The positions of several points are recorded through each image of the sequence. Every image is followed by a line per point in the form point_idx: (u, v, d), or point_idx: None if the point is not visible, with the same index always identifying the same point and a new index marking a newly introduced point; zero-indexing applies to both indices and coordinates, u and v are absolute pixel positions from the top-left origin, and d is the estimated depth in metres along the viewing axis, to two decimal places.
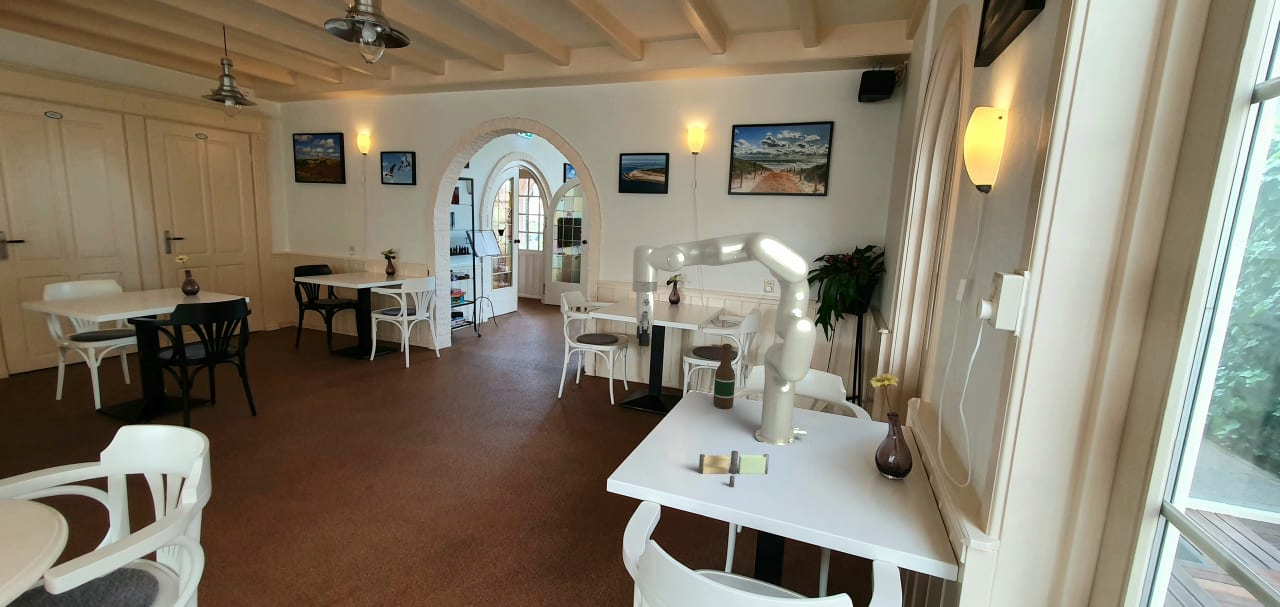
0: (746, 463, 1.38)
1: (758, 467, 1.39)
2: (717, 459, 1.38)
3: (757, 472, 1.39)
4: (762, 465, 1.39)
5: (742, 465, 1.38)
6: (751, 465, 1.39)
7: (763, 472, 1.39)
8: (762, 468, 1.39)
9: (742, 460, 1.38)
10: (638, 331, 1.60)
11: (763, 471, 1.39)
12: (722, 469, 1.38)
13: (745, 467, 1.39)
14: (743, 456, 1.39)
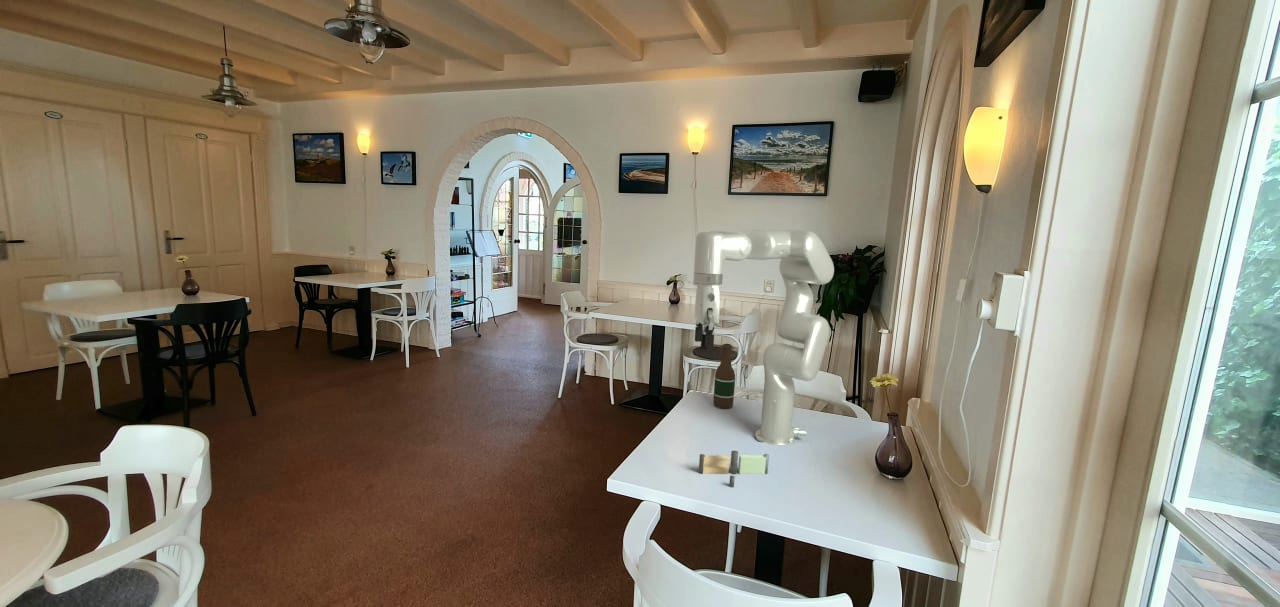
0: (746, 463, 1.38)
1: (758, 467, 1.39)
2: (717, 459, 1.38)
3: (757, 472, 1.39)
4: (762, 465, 1.39)
5: (742, 465, 1.38)
6: (751, 465, 1.39)
7: (763, 472, 1.39)
8: (762, 468, 1.39)
9: (742, 460, 1.38)
10: (697, 333, 1.39)
11: (763, 471, 1.39)
12: (722, 469, 1.38)
13: (745, 467, 1.39)
14: (743, 456, 1.39)
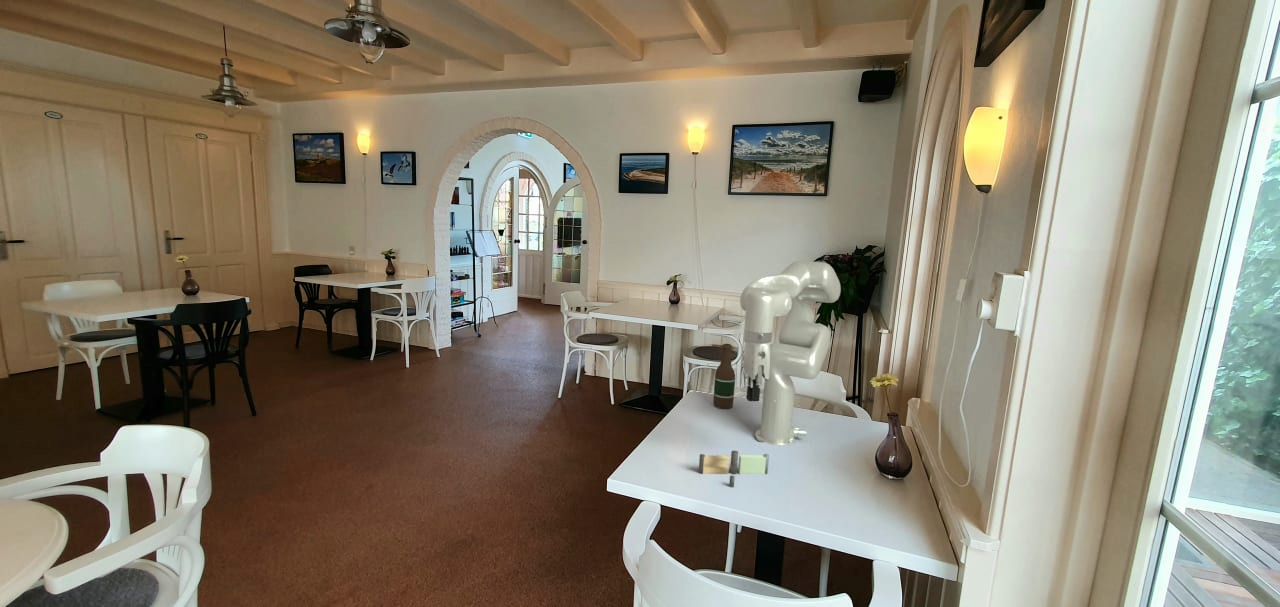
0: (746, 463, 1.38)
1: (758, 467, 1.39)
2: (717, 459, 1.38)
3: (757, 472, 1.39)
4: (762, 465, 1.39)
5: (742, 465, 1.38)
6: (751, 465, 1.39)
7: (763, 472, 1.39)
8: (762, 468, 1.39)
9: (742, 460, 1.38)
10: None
11: (763, 471, 1.39)
12: (722, 469, 1.38)
13: (745, 467, 1.39)
14: (743, 456, 1.39)
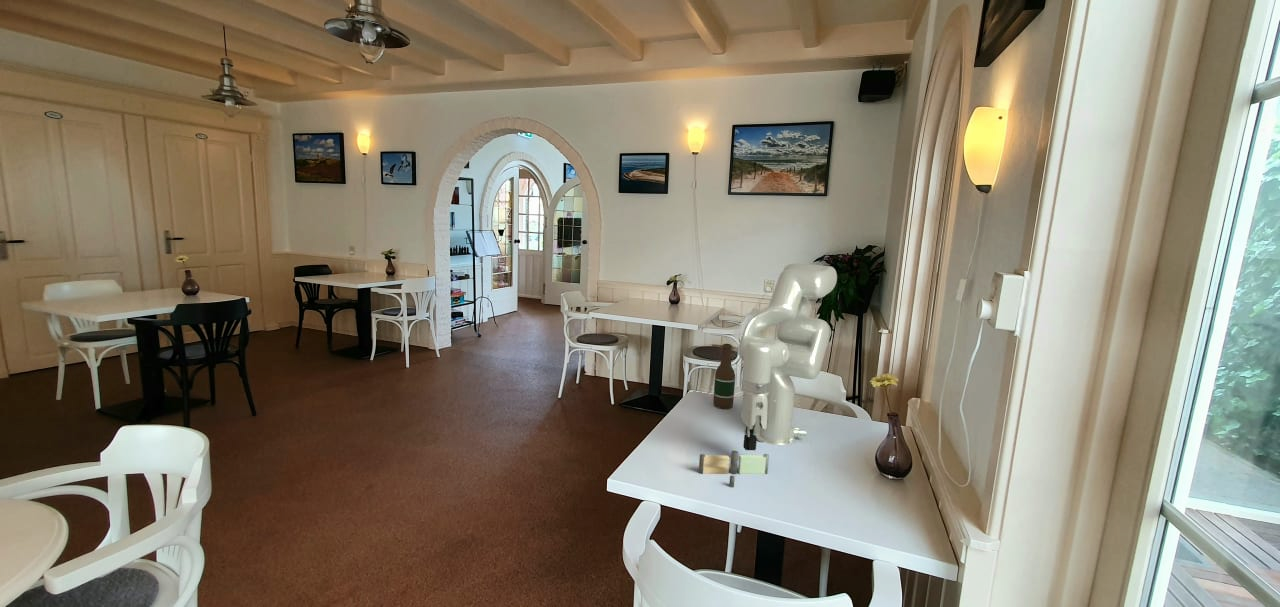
0: (746, 463, 1.38)
1: (758, 467, 1.39)
2: (717, 459, 1.38)
3: (757, 472, 1.39)
4: (762, 465, 1.39)
5: (742, 465, 1.38)
6: (751, 465, 1.39)
7: (763, 472, 1.39)
8: (762, 468, 1.39)
9: (742, 460, 1.38)
10: None
11: (763, 471, 1.39)
12: (722, 469, 1.38)
13: (745, 467, 1.39)
14: (743, 456, 1.39)
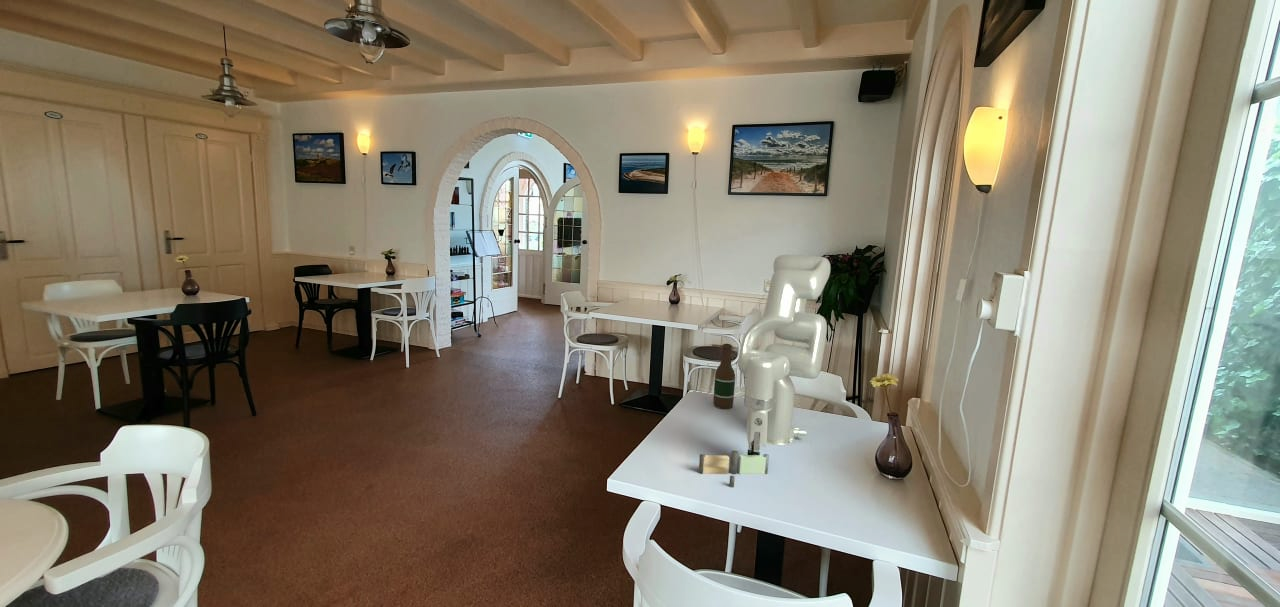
0: (746, 463, 1.38)
1: (758, 467, 1.39)
2: (717, 459, 1.38)
3: (757, 472, 1.39)
4: (762, 465, 1.39)
5: (742, 465, 1.38)
6: (751, 465, 1.39)
7: (763, 472, 1.39)
8: (762, 468, 1.39)
9: (742, 460, 1.38)
10: None
11: (763, 471, 1.39)
12: (722, 469, 1.38)
13: (745, 467, 1.39)
14: (743, 456, 1.39)
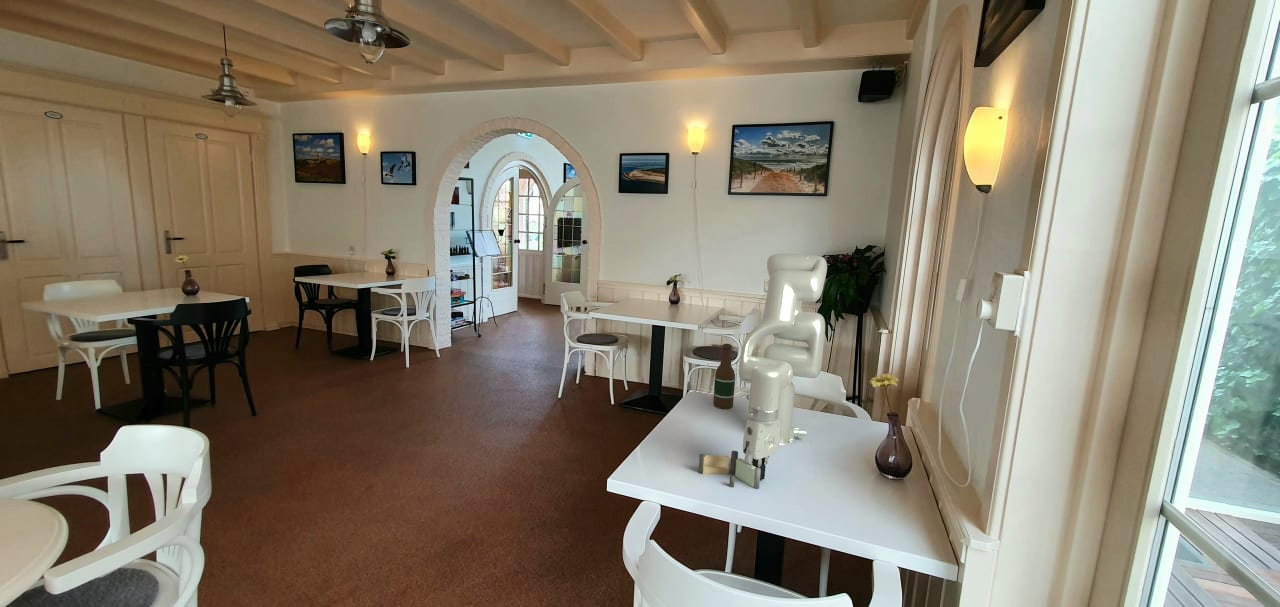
0: (739, 467, 1.36)
1: (749, 477, 1.33)
2: (717, 459, 1.38)
3: (748, 482, 1.33)
4: (751, 477, 1.32)
5: (737, 468, 1.37)
6: (743, 472, 1.35)
7: (752, 485, 1.32)
8: (751, 480, 1.32)
9: (737, 462, 1.37)
10: None
11: (752, 484, 1.32)
12: (722, 469, 1.38)
13: (739, 471, 1.36)
14: (740, 460, 1.37)
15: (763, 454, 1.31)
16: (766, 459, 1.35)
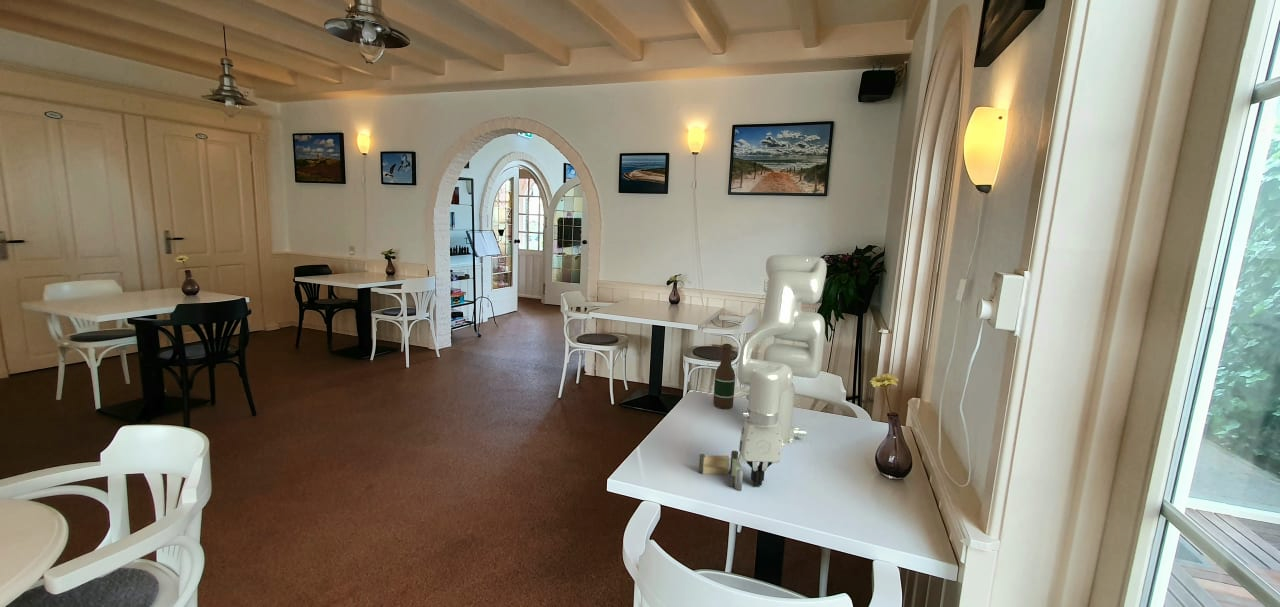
0: (733, 467, 1.36)
1: (735, 477, 1.32)
2: (717, 459, 1.38)
3: (734, 482, 1.33)
4: (735, 477, 1.31)
5: (732, 467, 1.37)
6: (733, 472, 1.34)
7: (735, 486, 1.31)
8: (735, 481, 1.31)
9: (732, 462, 1.37)
10: None
11: (735, 485, 1.31)
12: (722, 469, 1.38)
13: (732, 471, 1.36)
14: (735, 460, 1.36)
15: (755, 457, 1.29)
16: (764, 465, 1.31)
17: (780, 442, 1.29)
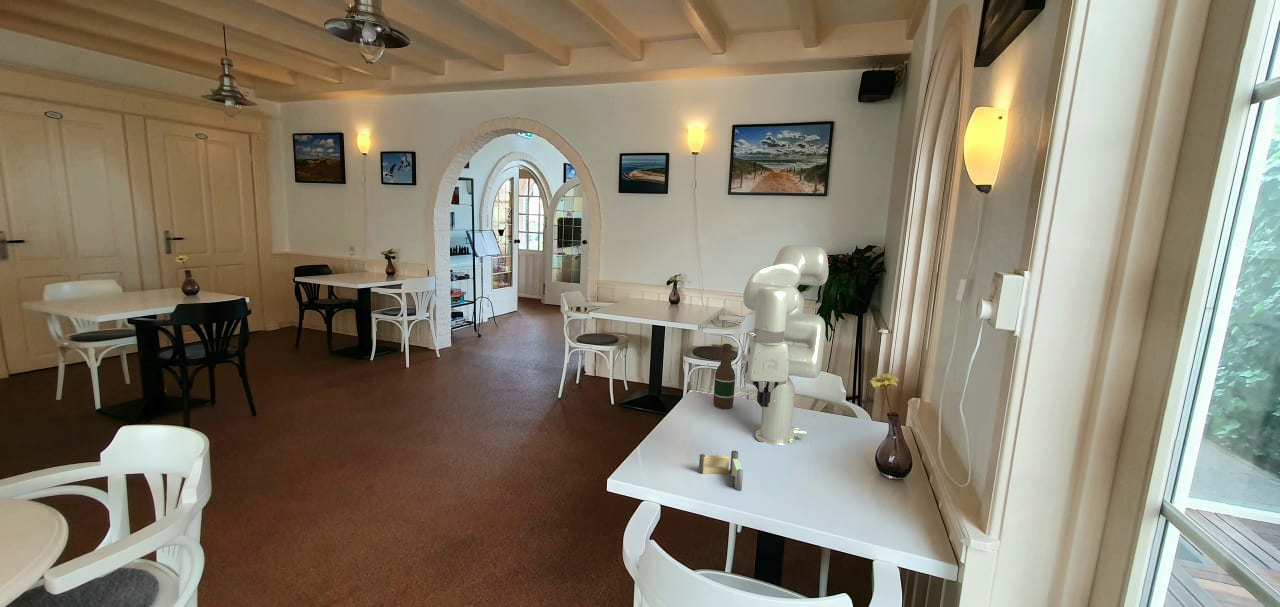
0: (733, 467, 1.36)
1: (735, 477, 1.32)
2: (717, 459, 1.38)
3: (734, 482, 1.33)
4: (735, 477, 1.31)
5: (732, 467, 1.37)
6: (733, 472, 1.34)
7: (735, 486, 1.31)
8: (735, 481, 1.31)
9: (732, 462, 1.37)
10: None
11: (735, 485, 1.31)
12: (722, 469, 1.38)
13: (732, 471, 1.36)
14: (735, 460, 1.36)
15: (761, 376, 1.27)
16: (771, 386, 1.29)
17: (787, 361, 1.27)
